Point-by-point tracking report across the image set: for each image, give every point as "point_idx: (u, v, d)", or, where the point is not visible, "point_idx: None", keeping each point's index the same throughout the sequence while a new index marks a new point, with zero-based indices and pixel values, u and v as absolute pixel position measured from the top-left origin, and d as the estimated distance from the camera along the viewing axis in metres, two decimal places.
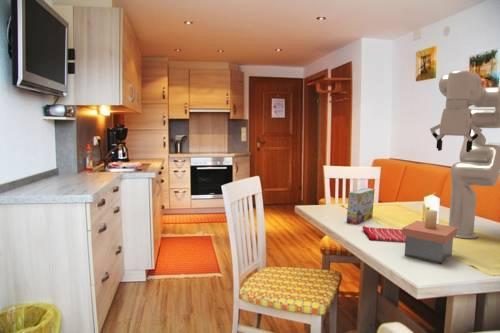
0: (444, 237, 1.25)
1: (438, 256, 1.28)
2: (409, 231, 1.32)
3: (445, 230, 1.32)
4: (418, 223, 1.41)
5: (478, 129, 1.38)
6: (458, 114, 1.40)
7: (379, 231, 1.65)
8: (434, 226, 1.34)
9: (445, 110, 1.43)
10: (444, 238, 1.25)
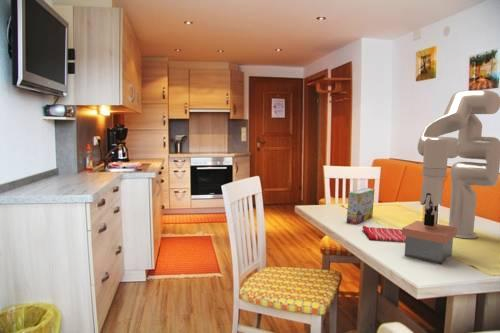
0: (444, 237, 1.25)
1: (438, 256, 1.28)
2: (409, 231, 1.32)
3: (445, 230, 1.32)
4: (418, 223, 1.41)
5: None
6: (441, 183, 1.33)
7: (379, 231, 1.65)
8: (434, 226, 1.34)
9: (437, 180, 1.30)
10: (444, 238, 1.25)
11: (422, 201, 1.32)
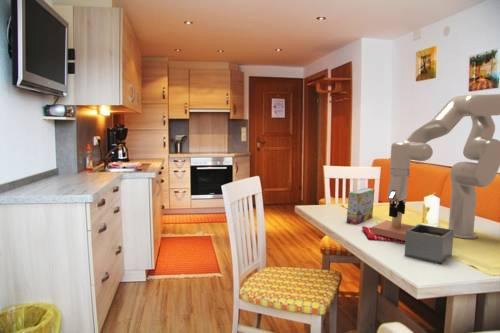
0: (405, 235, 1.48)
1: (438, 256, 1.28)
2: (377, 230, 1.55)
3: (408, 229, 1.55)
4: (387, 222, 1.64)
5: None
6: (405, 181, 1.56)
7: None
8: (399, 226, 1.57)
9: (401, 178, 1.52)
10: (405, 236, 1.48)
11: (389, 197, 1.54)
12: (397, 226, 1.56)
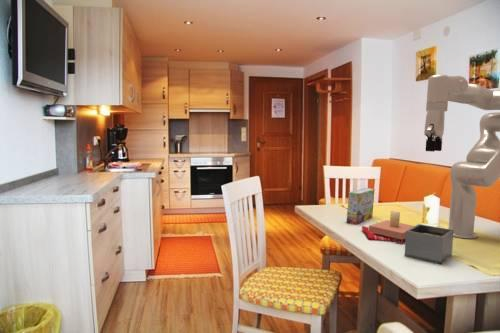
0: (401, 234, 1.49)
1: (438, 256, 1.28)
2: (374, 228, 1.57)
3: (405, 228, 1.55)
4: (386, 222, 1.65)
5: None
6: (443, 116, 1.50)
7: None
8: (397, 225, 1.57)
9: (439, 112, 1.47)
10: (401, 235, 1.49)
11: (426, 131, 1.49)
12: (395, 225, 1.57)
